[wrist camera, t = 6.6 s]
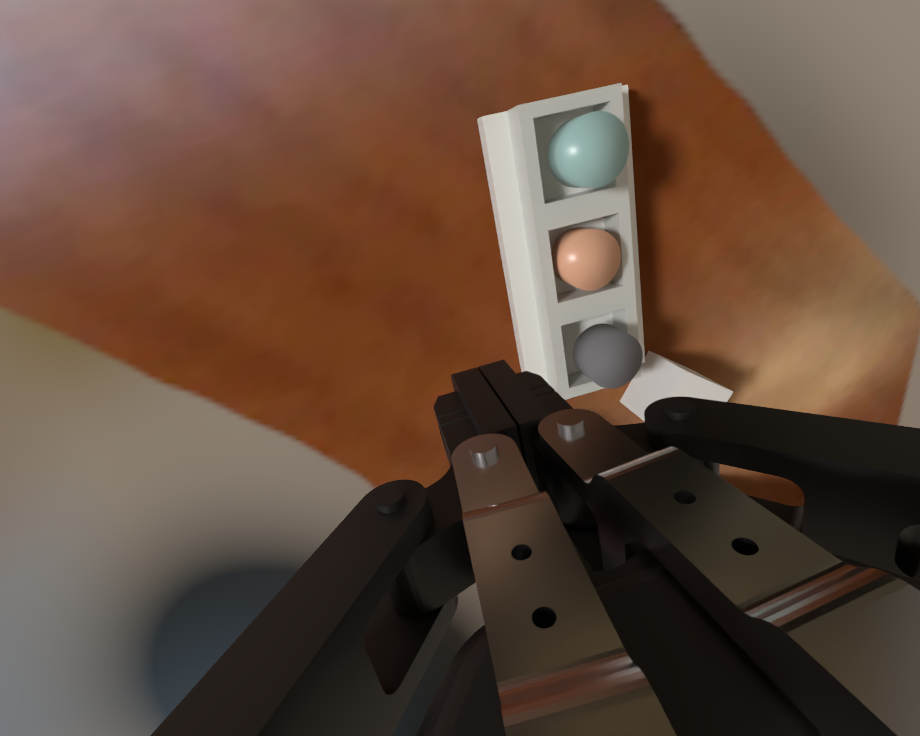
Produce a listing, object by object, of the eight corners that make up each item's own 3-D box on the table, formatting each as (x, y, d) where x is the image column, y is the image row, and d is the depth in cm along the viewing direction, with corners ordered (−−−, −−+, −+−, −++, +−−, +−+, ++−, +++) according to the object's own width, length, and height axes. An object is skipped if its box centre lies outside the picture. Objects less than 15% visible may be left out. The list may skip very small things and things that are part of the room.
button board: (477, 119, 37) (490, 111, 33) (618, 88, 38) (646, 77, 35) (524, 389, 46) (539, 407, 42) (636, 357, 48) (660, 371, 44)
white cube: (691, 369, 50) (733, 391, 44) (662, 417, 51) (699, 445, 46) (648, 349, 48) (686, 370, 42) (619, 401, 49) (652, 428, 44)
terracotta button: (546, 234, 39) (561, 237, 36) (600, 220, 40) (618, 222, 37) (554, 290, 41) (568, 297, 38) (605, 276, 42) (623, 282, 39)
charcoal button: (569, 331, 40) (585, 341, 37) (621, 317, 41) (640, 326, 38) (576, 381, 42) (591, 395, 39) (625, 367, 42) (644, 379, 40)
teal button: (543, 124, 34) (560, 119, 31) (605, 111, 34) (626, 104, 32) (552, 194, 36) (568, 194, 33) (610, 180, 36) (631, 179, 34)
